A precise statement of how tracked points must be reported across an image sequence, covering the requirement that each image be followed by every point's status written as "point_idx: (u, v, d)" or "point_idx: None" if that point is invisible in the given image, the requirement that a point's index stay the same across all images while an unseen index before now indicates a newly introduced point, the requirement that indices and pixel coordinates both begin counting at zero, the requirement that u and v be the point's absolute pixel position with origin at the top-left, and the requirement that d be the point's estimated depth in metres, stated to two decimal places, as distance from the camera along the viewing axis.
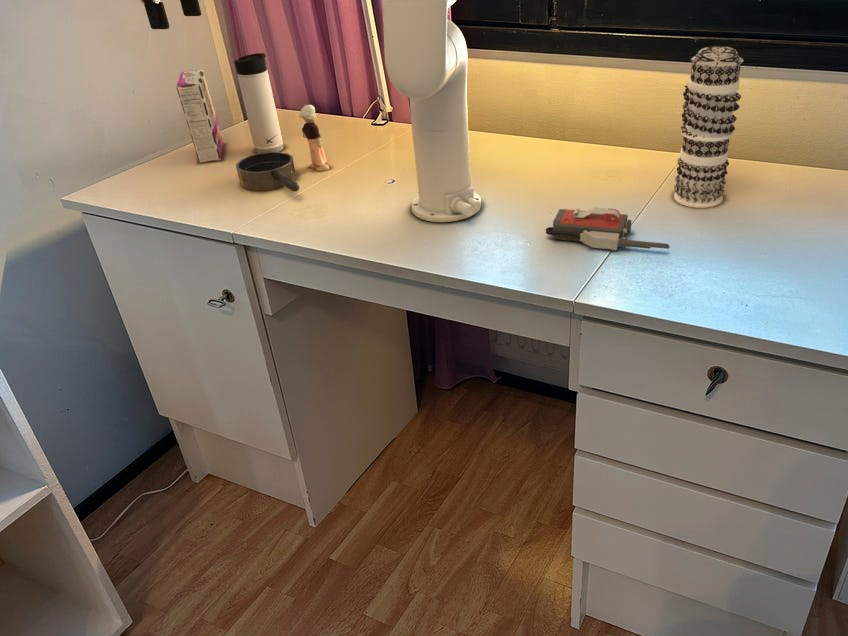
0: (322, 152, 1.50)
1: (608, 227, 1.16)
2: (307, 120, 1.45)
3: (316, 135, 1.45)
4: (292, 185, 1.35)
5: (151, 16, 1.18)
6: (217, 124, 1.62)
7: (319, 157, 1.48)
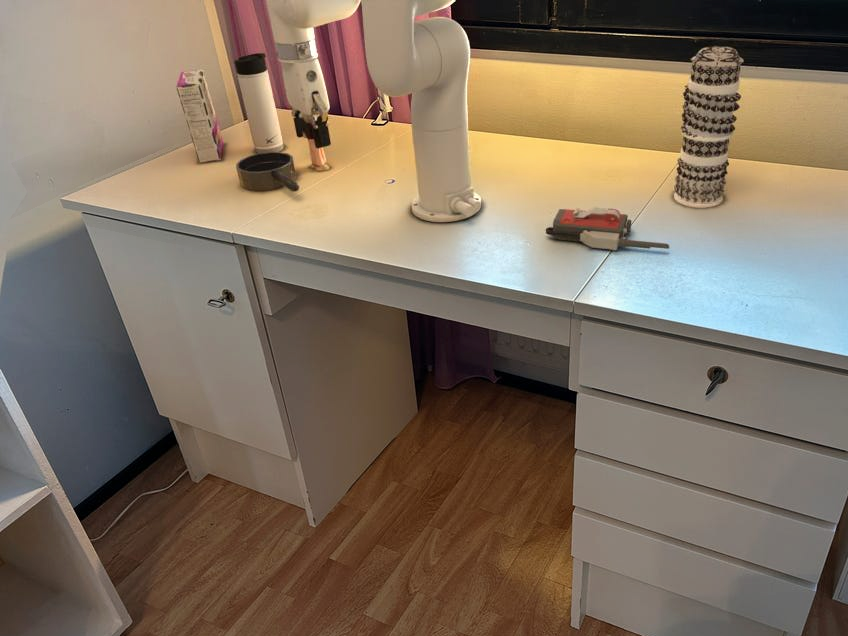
0: (322, 152, 1.50)
1: (608, 227, 1.16)
2: (307, 120, 1.45)
3: None
4: (292, 185, 1.35)
5: (321, 137, 1.43)
6: (217, 124, 1.62)
7: (319, 157, 1.48)
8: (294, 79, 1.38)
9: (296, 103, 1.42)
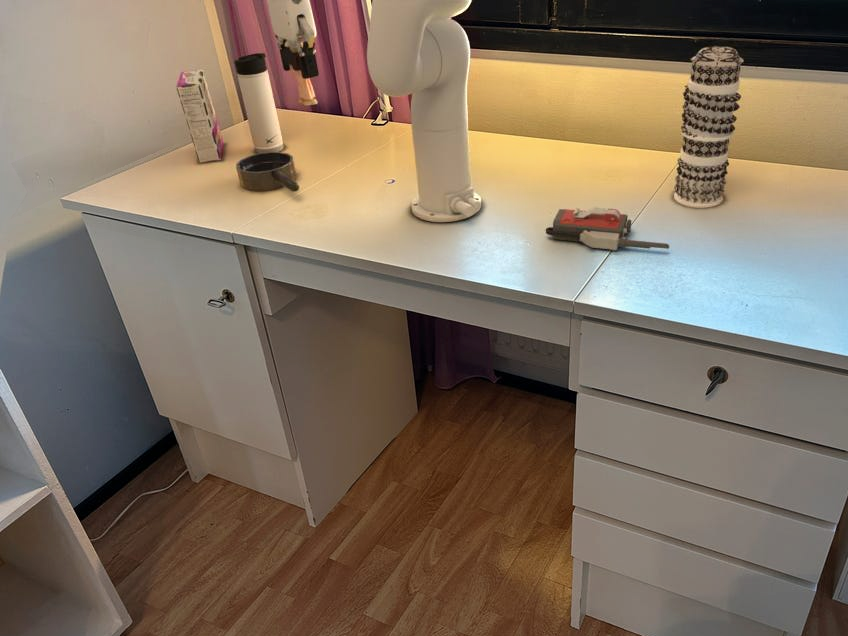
0: (310, 86, 1.42)
1: (608, 227, 1.16)
2: (293, 49, 1.37)
3: None
4: (292, 185, 1.35)
5: (308, 66, 1.35)
6: (217, 124, 1.62)
7: (307, 90, 1.40)
8: (278, 2, 1.30)
9: (281, 30, 1.34)
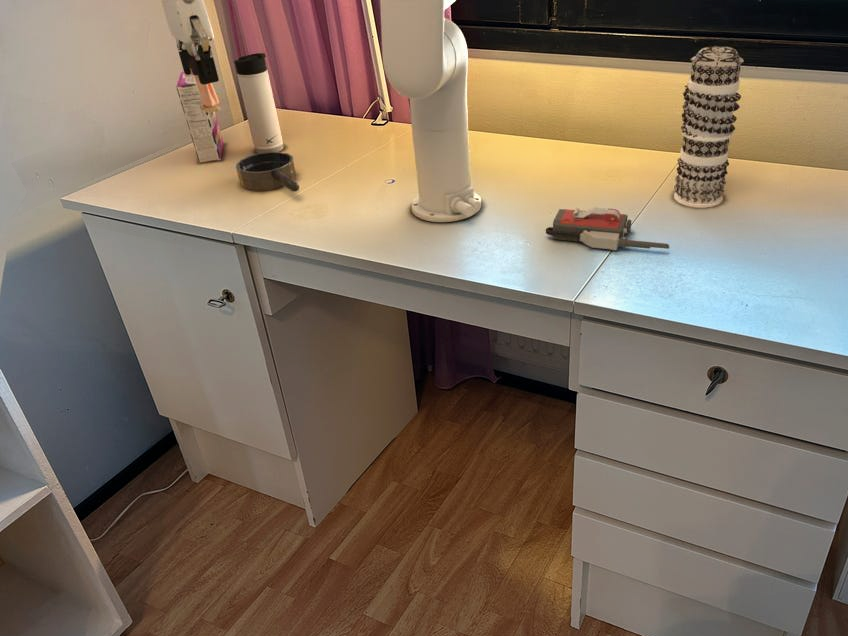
0: (212, 91, 1.32)
1: (608, 227, 1.16)
2: (191, 52, 1.27)
3: None
4: (292, 185, 1.35)
5: (206, 71, 1.25)
6: (217, 124, 1.62)
7: (208, 96, 1.30)
8: (169, 1, 1.20)
9: (176, 31, 1.24)
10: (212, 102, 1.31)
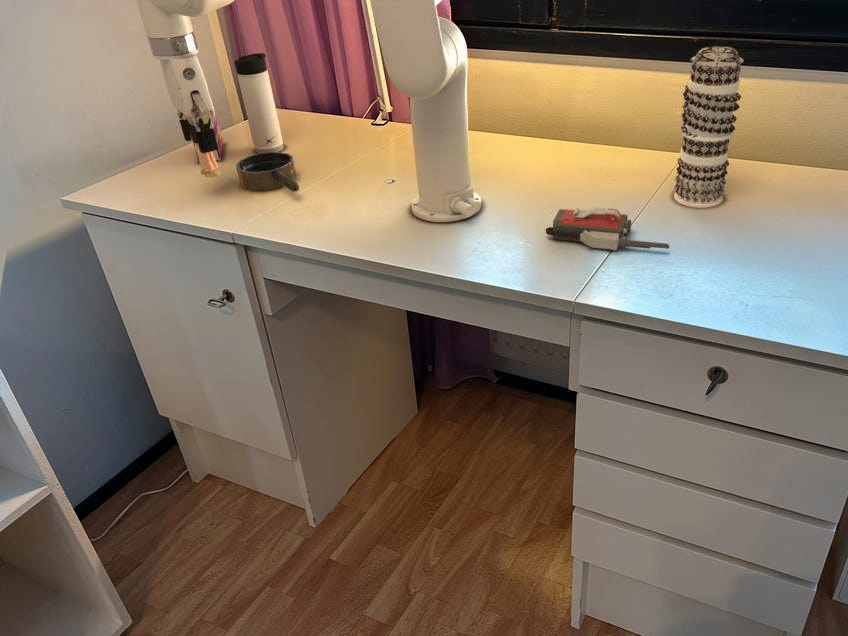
0: (212, 157, 1.37)
1: (608, 227, 1.16)
2: (191, 122, 1.32)
3: None
4: (292, 185, 1.35)
5: (206, 141, 1.31)
6: (217, 124, 1.62)
7: (207, 163, 1.36)
8: (171, 77, 1.26)
9: (177, 104, 1.30)
10: (211, 168, 1.37)
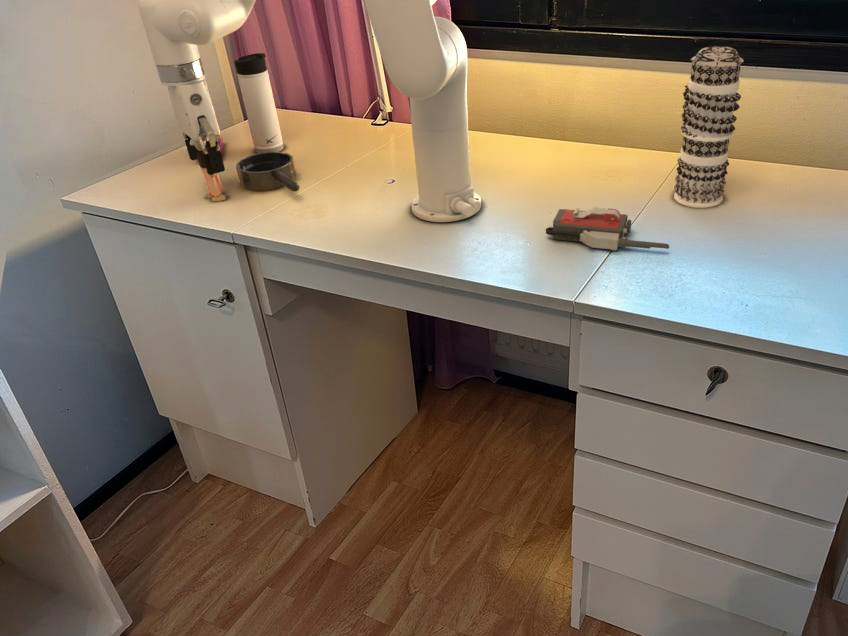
0: (218, 181, 1.40)
1: (608, 227, 1.16)
2: (198, 148, 1.35)
3: None
4: (292, 185, 1.35)
5: (213, 163, 1.33)
6: None
7: (214, 187, 1.39)
8: (178, 103, 1.28)
9: (184, 128, 1.32)
10: (218, 192, 1.40)
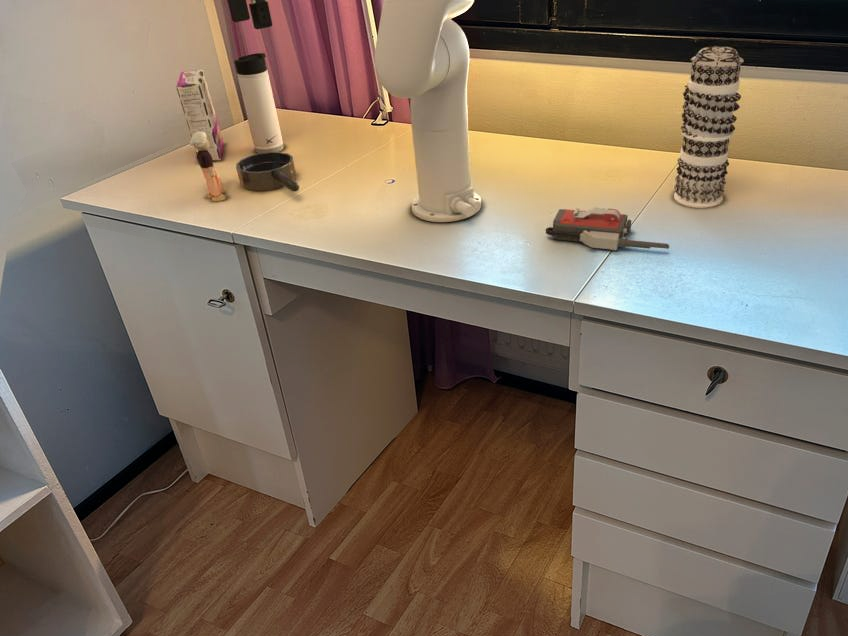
0: (218, 181, 1.40)
1: (608, 227, 1.16)
2: (198, 148, 1.35)
3: (208, 163, 1.35)
4: (292, 185, 1.35)
5: (260, 15, 1.24)
6: (217, 124, 1.62)
7: (214, 187, 1.39)
8: None
9: None
10: (218, 192, 1.40)
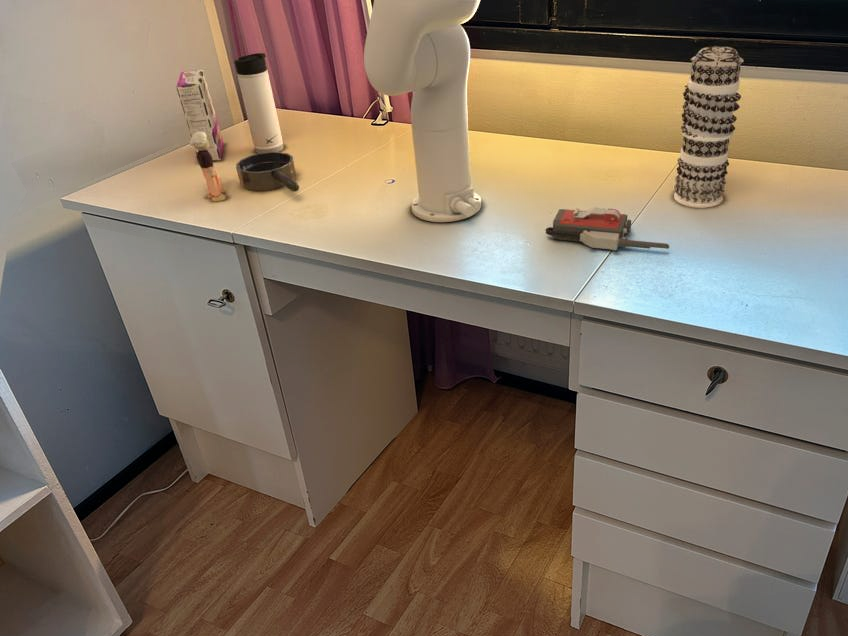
0: (218, 181, 1.40)
1: (608, 227, 1.16)
2: (198, 148, 1.35)
3: (208, 163, 1.35)
4: (292, 185, 1.35)
5: None
6: (217, 124, 1.62)
7: (214, 187, 1.39)
8: None
9: None
10: (218, 192, 1.40)
